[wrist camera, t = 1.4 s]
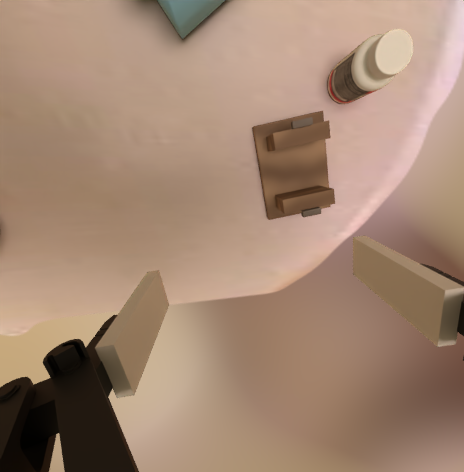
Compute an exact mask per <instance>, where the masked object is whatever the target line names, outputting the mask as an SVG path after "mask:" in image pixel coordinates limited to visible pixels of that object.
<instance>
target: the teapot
mask: <svg viewBox="0 0 464 472" xmlns="http://www.w3.org/2000/svg"><path fill="white" fill-rule="evenodd" d="M157 1H158V3H159V4H160V6H161V7H162V9H163V10H164V12H165V13H166V15H167V17H168V18H169V20H170V21H171V23H172V24H173V26H174V27H175V29H176V30H177V32H178V33H179V35H180V36H181V38H182V39H183V38H184V37H185V36H187V35H188V34H189V33H190V32H191V31H192V30H193V29H194V28H195V27H196V26H198V25H199V24H200V23H201V22H202V21H203V20H204V19H205V18H206V17H207V16H209V15H210V14H211V13H212V12H213V11H214V10H215V9H216V8H217V7H219V6H220V5H221V4H222V3H223V2H224V1H225V0H157Z"/></svg>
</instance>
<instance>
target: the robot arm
mask: <svg viewBox="0 0 464 472" xmlns="http://www.w3.org/2000/svg"><path fill="white" fill-rule="evenodd" d="M353 275H355V276H356V277H357V278H358V279H359V280H361V281H362V282H363V283H364V284H365V285H366V286H367V287H369V288H370V289H371V290H372V291H373V292H374V293H375V294H377V295H378V296H379V297H380V298H381V299H382V300H384V301H385V302H386V303H387V304H388V305H390V306H391V307H392V308H393V309H394V310H395V311H396V312H398V313H399V314H400V315H401V316H402V317H403V318H405V319H406V320H407V321H408V322H409V323H410V324H411V325H413V326H414V327H415V328H416V329H417V330H418V331H420V332H421V333H422V334H423V335H424V336H425V337H427V338H428V339H429V340H430V341H431V342H432V343H433V344H435V345H436V346H437V347H440V346H446V345H453V344H456V339H457V333H458V332H459V333H460V334H462V335H463V336H464V282H462V281H460V280H458V279H456V278H454V277H452V276H450V275H448V274H446V273H443V272H442V271H440V270H438V269H436V268H434V267H431V266H428V265H424V264H419V263H417V262H415V261H413V260H411V259H409V258H407V257H405V256H403V255H401V254H400V253H398V252H396V251H394V250H392V249H390V248H388V247H386V246H384V245H382V244H380V243H378V242H376V241H374V240H372V239H370V238H368V237H366V236H359V237H353ZM168 306H169V303H168V300H167V296H166V293H165V290H164V286H163V283H162V279H161V276H160V273H159V270H157V271H152V272H147V274H146V275H145V277H144V278H143V280H142V281H141V282H140V284H139V285H138V287H137V288H136V290H135V291H134V292H133V294H132V295H131V297H130V298H129V300H128V301H127V302H126V304H125V305H124V307H123V308H122V310H121V311H120V313H119V314H118V315H113V316H112V317H111V318H110V319H108V320H107V321H106V322H105V323H104V324H103V325H102V327H101V328H100V331H98V332H97V334H96V335H95V337H94V338H93V339H92V340H91V342H90V343H89V344H88V346H87V347H86V348H85V346H84V344H83V341H81V340H80V339H74V340H69V341H67V342H65V343H62V344H60V345H59V346H57V347H56V348H54V349H53V350H51V351H50V352H49V353H48V354H47V355H46V357H45V358H44V360H43V364H44V366H45V368H46V370H47V371H48V373H49V375H50V377H51V378H49V379H47V380H44V381H42V382H39V383H37V384H34V385H33V383H32V381H31V380H30V379H29V378H28V377H21V378H18V379H15V380H13V381H11V382H9V383H7V384H5V385H3V386H2V387H0V472H49V468H50V463H51V458H52V453H53V448H54V443H55V438H56V434H57V433H59V434H60V441H61V447H62V455H63V462H64V470H65V472H139V471H138V468H137V466H136V463H135V461H134V459H133V456H132V454H131V451H130V449H129V447H128V444H127V442H126V439H125V437H124V434H123V432H122V429H121V427H120V425H119V422H118V420H117V417H116V415H115V412H114V410H113V408H112V405H111V403H110V400H109V398H108V396H109V394H110V392H111V390H112V388H113V390H114V392H115V395H116V397H117V398H119V397H125V396H131V395H134V394H135V392H136V389H137V386H138V384H139V381H140V378H141V376H142V374H143V371H144V368H145V366H146V363H147V361H148V358H149V355H150V353H151V350H152V348H153V345H154V342H155V340H156V337H157V335H158V332H159V330H160V327H161V324H162V322H163V319H164V316H165V314H166V312H167V309H168ZM463 360H464V357H463Z"/></svg>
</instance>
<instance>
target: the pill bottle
mask: <svg viewBox="0 0 464 472" xmlns="http://www.w3.org/2000/svg"><path fill="white" fill-rule="evenodd" d="M412 54H413V41H412V38H411V36H410V35H409V33H408V32H406V31H405V30H402V29H393V30H390V31H388V32H387V33H385V34H378V35H374V36H372V37H370V38H368V39H367V40H365V41H364V42H363V43H362V44H361V45H359V46H358V47H357V48H356V49H355V50H354V51H352V52H351V53H350V54H349V55H348V56H346V57H345V58H344V59H343V60H342V61H340V62H339V63H338V64H337V65H336V66H335V67H334V69H333V70H332V71H331V73H330V76H329V79H328V91H329V94H330V96H331V97H332V99H333V100H334V101H336V102H338V103H341V104H346V103H350V102H352V101H355V100H357V99H359V98H361V97H363V96H365V95H368V94H370V93H372V92H374V91H377V90H379V89H381V88H383V87H384V86H386V85H387V84H388V83H389V82H390V81H391V80H392V79H393V78H394V76H395V75H396V74H397V73H399V72H401V71H402V70H403V69H404V68H405V67H406V66H407V65H408V63H409V62H410V60H411V57H412Z"/></svg>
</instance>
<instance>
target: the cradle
mask: <svg viewBox="0 0 464 472" xmlns="http://www.w3.org/2000/svg"><path fill="white" fill-rule="evenodd" d="M253 134H254V139H255V145H256V151H257V157H258V163H259V169H260V175H261V181H262V187H263V193H264V199H265V205H266V211H267V217H268V219H269V220H271V219H276V218H280V217H285V216H290V215H294V214H299V213H301V214H302V216H303V217H307V216H312V215H317V214H321V209H322V208H327V207H330V204H335V198H334V189H332V188H329V182H328V169H327V156H326V143H325V139H327V138H330V128H329V121H325V122H324V118H323V111H320V112H315V113H311V114H307V115H302V116H298V117H293V118H289V119H285V120H280V121H276V122H272V123H267V124H263V125H258V126H254V127H253Z"/></svg>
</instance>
